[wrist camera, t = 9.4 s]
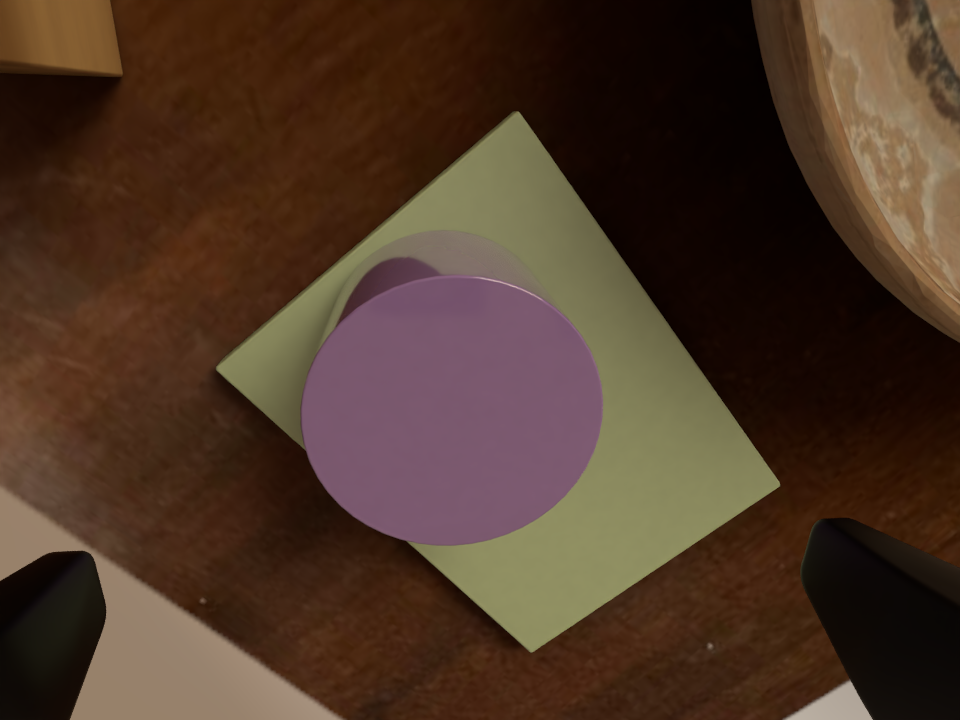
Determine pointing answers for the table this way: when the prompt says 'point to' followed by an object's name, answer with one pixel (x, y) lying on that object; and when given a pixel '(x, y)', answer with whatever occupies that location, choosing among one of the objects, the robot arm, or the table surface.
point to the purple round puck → (449, 393)
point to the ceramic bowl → (877, 133)
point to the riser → (58, 38)
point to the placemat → (625, 386)
